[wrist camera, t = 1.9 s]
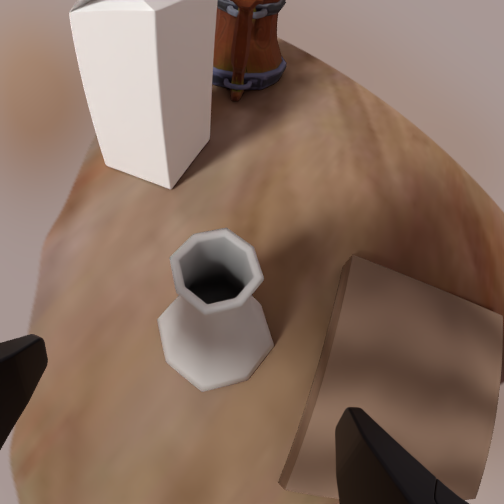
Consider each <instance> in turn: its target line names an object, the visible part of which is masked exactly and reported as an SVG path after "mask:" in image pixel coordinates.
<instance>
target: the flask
mask: <svg viewBox="0 0 504 504" xmlns="http://www.w3.org/2000/svg"><path fill="white" fill-rule="evenodd" d="M170 263H171V268H172V274H173V279H174V284H175V289H176V293H177V294H179V296H178V297H177V298H176V299H175V300H174V301H173V303H172V304H171V305H170V306H169V307H168V308H167V309H166V310H165V311H164V312H163V313H162V315H161V316H160V317H159V318H158V319H157V321H158V326H159V331H160V336H161V341H162V346H163V350H164V355H165V359H166V363H168V364H169V365H170V366H171V367H172V368H174V369H175V370H176V371H177V372H178V373H179V374H181V375H182V376H183V377H184V378H185V379H187V380H188V381H189V382H190V383H192V384H193V385H194V386H195V387H197V388H198V389H199V390H200V391H202V392H203V391H207V390H212V389H216V388H220V387H224V386H228V385H232V384H236V383H240V382H244V381H247V380H248V379H249V378H250V377H251V375H252V374H253V373H254V371H255V370H256V369H257V368H258V366H259V365H260V364H261V362H262V361H263V360H264V358H265V357H266V356H267V355H268V353H269V352H270V351H271V349H272V348H273V347H274V343H273V340H272V337H271V334H270V331H269V328H268V325H267V321H266V318H265V315H264V312H263V309H262V306H261V304H260V303H259V302H258V301H257V300H256V299H255V298H254V297H253V296H252V294H253V293H254V292H255V290H256V289H257V288H258V287H259V285H260V284H261V283H262V282H263V280H264V277H263V274H262V271H261V268H260V265H259V262H258V259H257V255H256V252H255V249H254V247H253V246H252V245H250V244H249V243H247V242H246V241H245V240H243V239H242V238H240V237H239V236H238V235H236V234H235V233H233V232H232V231H231V230H229V229H228V228H222V229H217V230H212V231H206V232H201V233H196V234H193V235H192V236H191V237H190V238H189V239H188V240H187V241H186V242H185V243H184V244H183V245H182V246H181V247H180V248H179V249H178V250H177V251H176V252H175V253H174V254H173V255H172V256H171V257H170Z"/></svg>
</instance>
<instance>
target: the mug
mask: <svg viewBox="0 0 504 504" xmlns="http://www.w3.org/2000/svg"><path fill="white" fill-rule="evenodd" d="M285 3H286V2H285V0H218V1H217V14H216V27H215V41H214V58H213V76H212V84H214V85H216V86H221V87H226V88H230V90H231V99H232V101H239V99H240V98H241V95H242V93H243V91H244V90H261V89H264V88H266V87H268V86H270V85H272V84H274V83H276V82H277V81H279V79H280V77H281V75H282V74H283V72H284V70H285V68H286V62H285V60H284V59H283V57H282V56H281V52H280V49H279V45H278V41H277V18H278V12H279V11H280V10H281V8H282V7H283V6H284V5H285Z"/></svg>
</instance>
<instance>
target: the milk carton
mask: <svg viewBox="0 0 504 504" xmlns="http://www.w3.org/2000/svg"><path fill="white" fill-rule="evenodd" d="M217 1H218V0H77V1H76V3H75V4H74V6H73V7H72V9H71V10H70V12H69V15H70V23H71V29H72V34H73V40H74V45H75V50H76V55H77V60H78V64H79V69H80V73H81V78H82V82H83V86H84V90H85V94H86V98H87V102H88V106H89V110H90V113H91V117H92V121H93V124H94V128H95V131H96V135H97V138H98V141H99V145H100V148H101V151H102V154H103V157H104V161H105V164H106V165H107V166H109V167H112V168H114V169H117V170H120V171H123V172H125V173H128V174H131V175H133V176H136V177H139V178H142V179H144V180H147V181H150V182H152V183H155V184H158V185H160V186H163V187H166V188H168V189H172V188H173V187H174V185H175V184H176V183H177V181H178V180H179V179H180V177H181V176H182V175H183V173H184V172H185V171H186V169H187V168H188V167H189V165H190V164H191V163H192V161H193V160H194V159H195V158H196V156H197V155H198V154H199V152H200V151H201V150H202V149H203V147H204V146H205V145H206V144H207V142H208V141H209V139H210V122H211V97H212V76H213V58H214V41H215V27H216V14H217Z"/></svg>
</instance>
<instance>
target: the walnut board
mask: <svg viewBox="0 0 504 504" xmlns="http://www.w3.org/2000/svg"><path fill="white" fill-rule="evenodd" d="M502 346H503V316H502V315H500V314H497V313H495V312H493V311H490V310H488V309H486V308H483V307H481V306H479V305H476V304H474V303H472V302H469V301H467V300H465V299H462V298H460V297H458V296H455V295H453V294H450V293H448V292H446V291H443V290H441V289H438V288H436V287H433V286H431V285H429V284H426V283H424V282H421V281H419V280H416V279H414V278H411V277H409V276H406V275H404V274H401V273H399V272H396V271H394V270H391V269H389V268H386V267H384V266H381V265H378V264H376V263H373V262H371V261H368V260H366V259H363V258H360V257H358V256H355V255H352V256H351V257H350V259H349V260H348V261H347V262H346V264H345V265H344V266H343V268H342V273H341V277H340V282H339V286H338V290H337V295H336V299H335V303H334V307H333V311H332V315H331V319H330V323H329V327H328V331H327V335H326V339H325V342H324V346H323V350H322V353H321V357H320V360H319V364H318V367H317V371H316V374H315V378H314V381H313V384H312V387H311V391H310V394H309V397H308V400H307V403H306V406H305V410H304V413H303V416H302V419H301V422H300V425H299V427H298V430H297V433H296V436H295V439H294V442H293V445H292V447H291V450H290V453H289V456H288V458H287V461H286V464H285V466H284V469H283V471H282V474H281V477H280V479H279V482H278V483H279V484H280V485H281V486H282V487H283V488H284V489H285V490H288V491H293V492H298V493H303V494H309V495H315V496H321V497H328V498H336V499H339V495H338V487H337V480H336V452H335V429H336V426H337V424H338V422H339V420H340V418H341V416H342V414H343V412H344V411H345V409H346V408H347V407H359V408H362V409H363V410H364V411H365V412H366V413H367V414H368V415H369V416H370V417H371V418H372V419H373V420H374V421H375V422H376V423H378V424H379V425H380V426H381V427H382V428H383V429H384V430H385V431H386V432H387V433H388V434H389V435H390V436H391V437H392V438H394V439H395V440H396V441H397V442H398V443H399V444H400V445H401V446H402V447H403V448H404V449H405V450H407V451H408V452H409V453H410V454H411V455H412V456H413V457H414V458H415V459H416V460H418V461H419V462H420V463H421V464H422V465H423V466H424V467H425V468H426V469H428V470H429V471H430V472H431V473H432V474H433V475H434V476H435V477H436V479H439V480H440V481H441V482H442V483H443V484H445V485H446V486H447V487H448V488H449V489H450V490H452V491H453V492H454V493H455V494H457V495H458V496H459V497H461V498H462V499H463V500H468V499H475V498H476V495H477V492H478V489H479V486H480V482H481V479H482V476H483V472H484V469H485V464H486V461H487V457H488V453H489V448H490V444H491V439H492V434H493V429H494V423H495V418H496V411H497V404H498V397H499V388H500V378H501V366H502Z"/></svg>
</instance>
